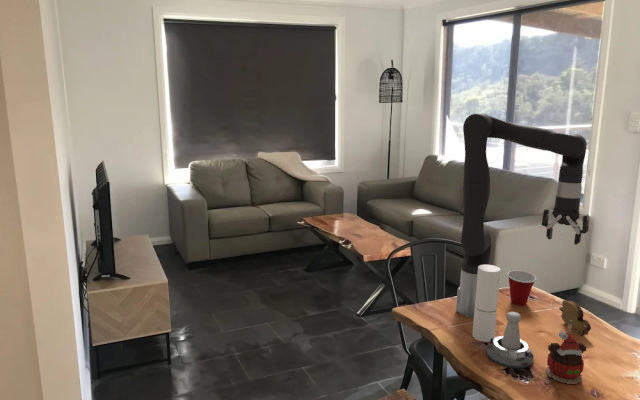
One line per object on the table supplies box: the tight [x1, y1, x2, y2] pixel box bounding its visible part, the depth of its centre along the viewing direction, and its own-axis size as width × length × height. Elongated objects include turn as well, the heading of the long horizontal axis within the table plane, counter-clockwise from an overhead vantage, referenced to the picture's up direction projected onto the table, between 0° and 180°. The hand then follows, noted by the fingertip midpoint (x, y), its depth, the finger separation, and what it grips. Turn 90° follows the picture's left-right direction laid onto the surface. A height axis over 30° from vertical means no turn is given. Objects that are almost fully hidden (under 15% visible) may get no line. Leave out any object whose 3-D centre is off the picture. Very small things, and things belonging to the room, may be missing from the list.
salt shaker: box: [501, 311, 522, 350], centre depth 161 cm, size 6×6×13 cm
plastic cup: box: [506, 269, 537, 307], centre depth 202 cm, size 11×11×12 cm
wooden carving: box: [558, 299, 592, 337], centre depth 181 cm, size 16×5×10 cm, turn 9°
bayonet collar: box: [485, 335, 534, 370], centre depth 162 cm, size 14×14×4 cm
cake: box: [545, 320, 587, 385], centre depth 149 cm, size 11×9×18 cm
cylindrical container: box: [471, 264, 501, 343], centre depth 173 cm, size 7×7×25 cm
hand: (562, 241), depth 173 cm, fingers open, 8 cm apart
